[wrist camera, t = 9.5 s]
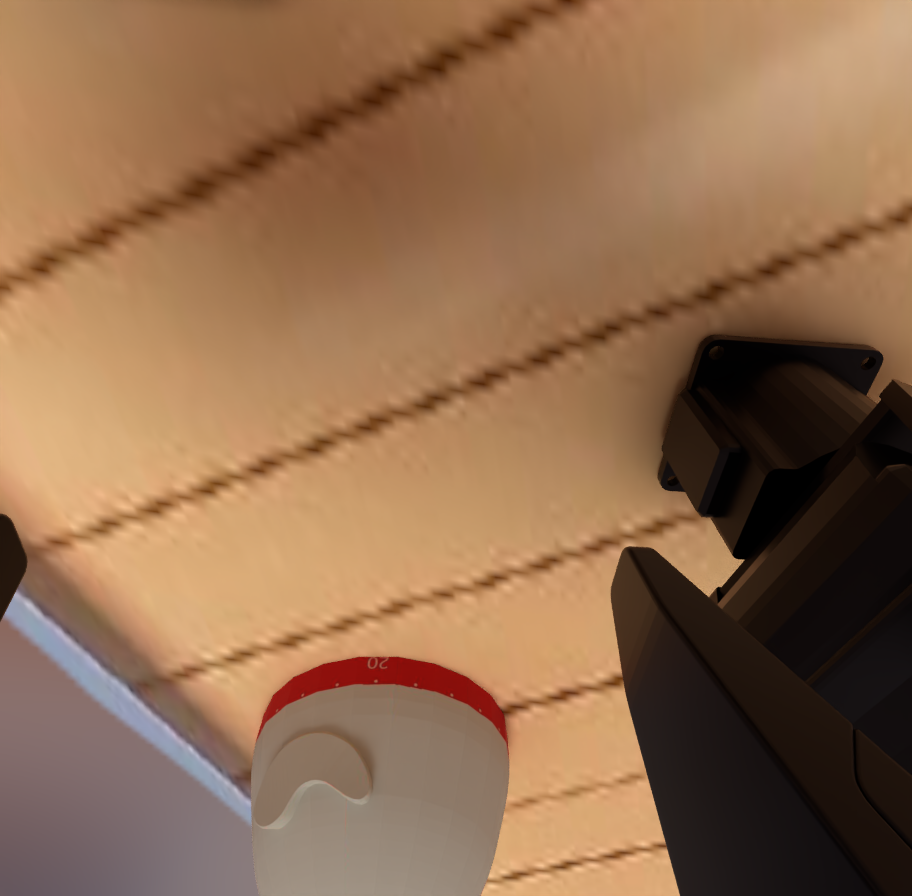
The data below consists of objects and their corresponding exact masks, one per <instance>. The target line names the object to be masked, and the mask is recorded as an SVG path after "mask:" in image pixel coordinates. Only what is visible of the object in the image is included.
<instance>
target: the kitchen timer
mask: <svg viewBox="0 0 912 896" xmlns="http://www.w3.org/2000/svg"><path fill="white" fill-rule="evenodd" d="M508 783H509V753H508V741H507V732H506V725H505V719H504V714H503V713H502V711H501V710H500V708H499V707H498V705H497V704H496V702H495V701H494V699H493V698H492V696H491V695H490V694H489V693H487V692H486V691H485V690H483V689H482V688H481V687H479V686H478V685H477V684H475V683H474V682H473V681H471V680H470V679H469V678H467V677H465V676H463V675H460V674H458V673H456V672H453V671H451V670H448V669H446V668H443V667H441V666H439V665H436V664H432V663H427V662H421V661H416V660H411V659H406V658H400V657H357V658H352V659H347V660H342V661H337V662H332V663H327V664H323V665H320V666H318V667H316V668H314V669H311V670H309V671H307V672H305V673H303V674H300V675H298V676H296V677H294V678H293V679H291V680H290V681H289V682H288V683H287V684H286V685H285V686H283V687H282V688H281V689H280V690H279V691H278V692H276V693H275V694H274V695H273V697H272V699H271V701H270V703H269V705H268V707H267V710H266V712H265V714H264V716H263V719H262V723H261V726H260V730H259V733H258V737H257V740H256V744H255V749H254V755H253V763H252V773H251V811H252V843H253V859H254V869H255V876H256V883H257V887H258V892H259V896H481V894H482V891H483V889H484V886H485V884H486V881H487V878H488V875H489V872H490V870H491V866H492V863H493V859H494V856H495V851H496V847H497V842H498V838H499V833H500V829H501V824H502V819H503V814H504V809H505V804H506V799H507V793H508Z"/></svg>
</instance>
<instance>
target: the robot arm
mask: <svg viewBox="0 0 912 896" xmlns="http://www.w3.org/2000/svg"><path fill="white" fill-rule="evenodd" d="M715 346H720V347H719V350H718V352H717V353H715V354H714V355H709V352H710V350H711V349H712V348H714V347H715ZM867 357H869V359H868V361H867V362H866V363H865V364H863V365H861V363H862V361H863V360H864V359H866V358H867ZM882 362H883V355H882V354H881V353H880V352H879V351H878V350H876V349H875V348H873V347H870V346H863V345H849V344H835V343H821V342H807V341H793V340H779V339H765V338H751V337H737V336H723V335H713V336H709V337H707V338H705V339H704V340H703V341H702V342H701V344H700V345H699V347H698V350H697V354H696V357H695V360H694V363H693V366H692V369H691V372H690V376H689V379H688V382H687V385H686V388H685V389H684V390H683V391H682V392H681V393H680V394H679V395H678V397H677V401H676V404H675V407H674V410H673V413H672V417H671V420H670V423H669V426H668V429H667V433H666V436H665V439H664V442H663V445H662V452H663V453H664V457H663V461H662V464H661V467H660V470H659V473H658V480H659V482H660V484H661V486H662V488H664V489H665V490H668V491H679V492H686V494H687V496H688V498H689V499H690V501H691V503H692V505H693V506H694V508H695V510H696V511H697V512H698V514H699V515H700V516H701V517H706V518H711V520H712V521H713V523H714V525H715V526H716V528H717V530H718V532H719V533H720V535H721V537H722V538H723V540H724V542H725V543H726V545H727V547H728V548H729V550H730V552H731V554H732V555H733V556H734V558H736V559H744V562H743V563H742V564H741V565H740V566H739V568H738V569H737V570H736V571H735V572H734V573H733V575H732V576H731V577H730V578H729V579H728V580H727V582H726V583H725V584H724V585H723V586H722V587H717V588H716V589H715V590H714V592H713V593H712V594H711V595H710V596H709V597H708V596H707V595H705V594H704V593H703V592H702V591H701V590H700V589H699V588H697V587H696V586H695V585H694V584H693V583H692V582H691V581H689V580H688V579H687V578H686V577H685V576H684V575H683V574H682V573H680V572H679V571H678V570H677V569H676V568H675V567H674V566H672V565H671V564H670V563H669V562H668V561H667V560H666V559H664V558H663V557H662V556H661V555H660V554H659V553H658V552H657V551H655V550H654V549H652V548H648V547H631V546H629V547H626V548H624V550H623V551H622V553H621V556H620V559H619V562H618V566H617V569H616V572H615V576H614V579H613V582H612V586H611V603H612V610H613V617H614V623H615V630H616V636H617V643H618V649H619V656H620V662H621V669H622V675H623V681H624V687H625V692H626V697H627V701H628V705H629V709H630V713H631V717H632V720H633V724H634V728H635V732H636V735H637V739H638V743H639V746H640V750H641V754H642V757H643V761H644V765H645V768H646V772H647V776H648V779H649V783H650V787H651V790H652V794H653V798H654V801H655V805H656V809H657V812H658V816H659V820H660V823H661V827H662V831H663V835H664V838H665V842H666V846H667V849H668V853H669V857H670V860H671V864H672V868H673V871H674V875H675V879H676V882H677V886H678V890H679V893H680V896H912V386H910V385H908V384H905V383H903V382H900V381H898V380H895V379H893V380H892V381H891V382H890V383H889V385H888V386H887V387H886V388H885V389H884V390H883V392H882V393H881V394H880V395H879V397H880V398H881V401H880V402H879V403H878V404H876V403H875V402H874V401H873V400H871V399H870V398H869V397H867V396H866V395H867V393H868V391H869V389H870V387H871V385H872V383H873V381H874V379H875V377H876V375H877V373H878V371H879V369H880V367H881V365H882ZM671 476H676V477H675V478H674V479H672V480H668V478H669V477H671ZM26 568H27V555H26V552H25V550H24V547H23V545H22V543H21V540H20V538H19V535H18V533H17V531H16V528H15V526H14V524H13V522H12V520H11V519H10V518H9V517H8V516H7V515H4V514H0V621H1V619H2V618H3V616H4V614H5V612H6V610H7V608H8V606H9V604H10V602H11V600H12V598H13V596H14V594H15V592H16V590H17V588H18V586H19V584H20V582H21V580H22V578H23V576H24V574H25V572H26Z"/></svg>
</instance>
